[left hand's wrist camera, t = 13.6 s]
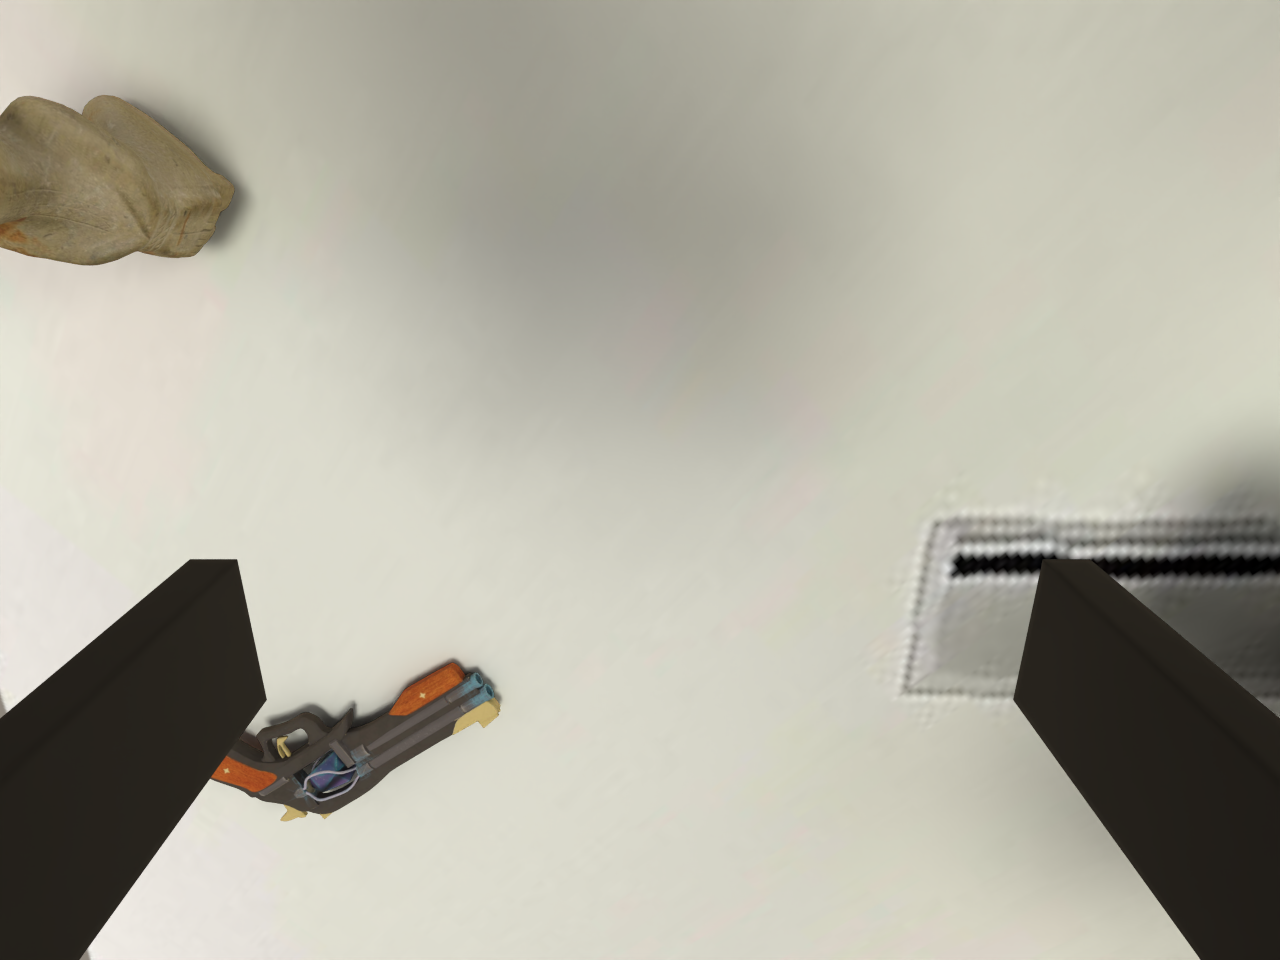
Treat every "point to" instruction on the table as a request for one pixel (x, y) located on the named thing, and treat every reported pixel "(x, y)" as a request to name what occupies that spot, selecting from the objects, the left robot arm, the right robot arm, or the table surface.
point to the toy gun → (356, 745)
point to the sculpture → (101, 184)
